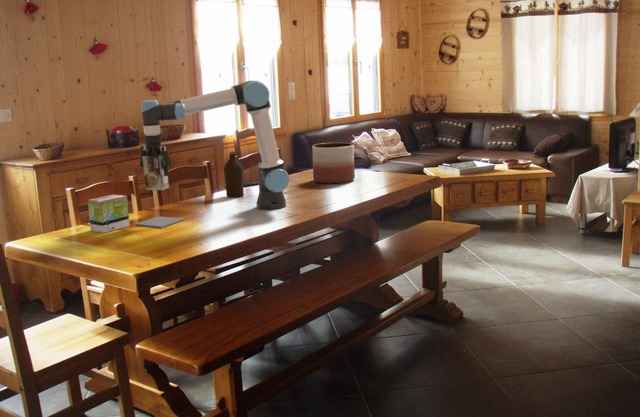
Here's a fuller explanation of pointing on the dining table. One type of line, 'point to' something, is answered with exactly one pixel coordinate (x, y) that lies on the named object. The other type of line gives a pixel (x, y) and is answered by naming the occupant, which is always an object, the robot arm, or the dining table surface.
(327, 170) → the planter
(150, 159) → the coffee box
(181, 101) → the robot arm
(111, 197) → the tea box
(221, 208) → the dining table surface
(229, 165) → the olive oil
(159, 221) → the charcoal mat
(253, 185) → the remote control
